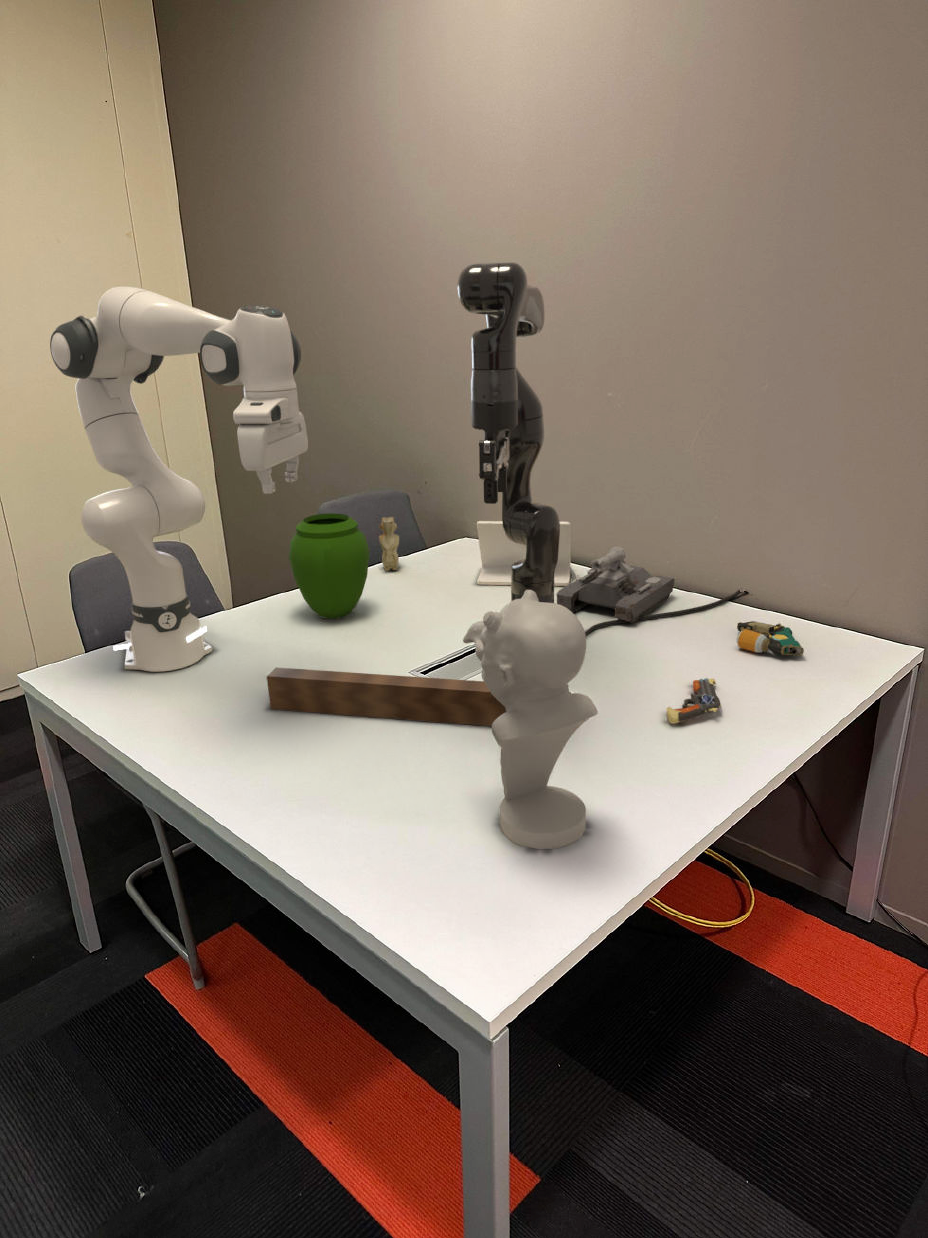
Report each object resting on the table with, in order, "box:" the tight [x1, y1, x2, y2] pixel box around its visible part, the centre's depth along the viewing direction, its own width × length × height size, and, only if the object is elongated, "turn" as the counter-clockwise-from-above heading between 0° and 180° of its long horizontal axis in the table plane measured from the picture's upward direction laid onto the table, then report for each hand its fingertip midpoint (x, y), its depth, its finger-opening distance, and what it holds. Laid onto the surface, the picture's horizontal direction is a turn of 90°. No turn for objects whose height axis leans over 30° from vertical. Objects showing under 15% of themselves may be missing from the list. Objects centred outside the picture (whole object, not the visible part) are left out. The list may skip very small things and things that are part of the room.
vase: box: [288, 512, 370, 620], centre depth 209 cm, size 20×20×24 cm
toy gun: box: [666, 677, 722, 724], centre depth 161 cm, size 3×19×10 cm
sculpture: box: [378, 516, 400, 572], centre depth 246 cm, size 6×7×15 cm
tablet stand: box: [476, 520, 572, 587], centre depth 236 cm, size 18×25×17 cm
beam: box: [266, 667, 506, 727], centre depth 160 cm, size 51×4×7 cm, turn 77°
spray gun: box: [736, 620, 805, 657], centre depth 187 cm, size 4×17×15 cm
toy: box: [556, 546, 676, 624], centre depth 212 cm, size 25×20×15 cm
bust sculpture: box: [462, 590, 599, 850], centre depth 124 cm, size 16×24×35 cm
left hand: (280, 487), depth 150 cm, fingers open, 8 cm apart
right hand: (495, 497), depth 142 cm, fingers open, 8 cm apart
